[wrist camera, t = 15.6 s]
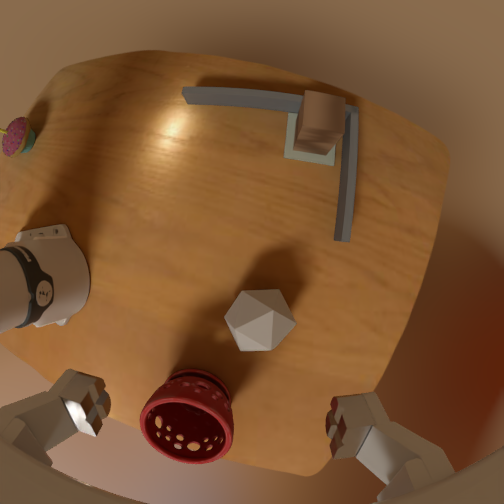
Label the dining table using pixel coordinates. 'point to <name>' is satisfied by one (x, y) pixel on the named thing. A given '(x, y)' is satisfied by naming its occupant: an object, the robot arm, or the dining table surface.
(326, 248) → the dining table surface
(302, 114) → the walnut block
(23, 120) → the cupcake
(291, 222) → the dining table surface
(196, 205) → the dining table surface
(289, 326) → the die
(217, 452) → the plant pot
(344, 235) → the grey l-shaped bracket
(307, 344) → the dining table surface
